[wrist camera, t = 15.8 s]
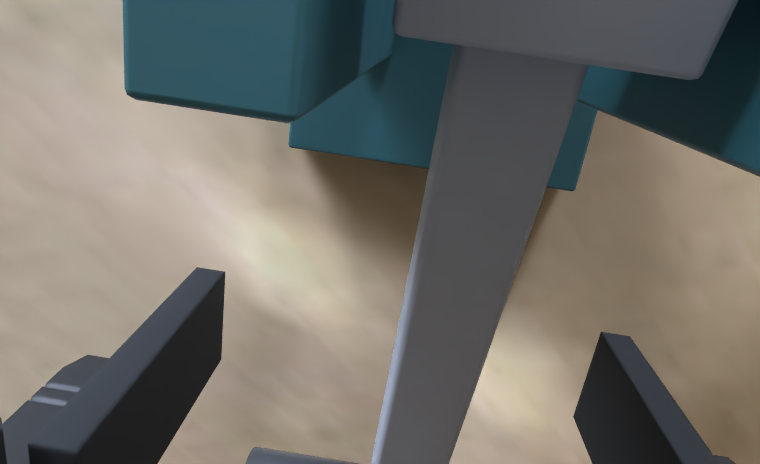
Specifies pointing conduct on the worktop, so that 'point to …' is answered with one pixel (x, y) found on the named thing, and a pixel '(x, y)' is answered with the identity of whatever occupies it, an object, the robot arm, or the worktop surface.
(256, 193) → the worktop surface
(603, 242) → the worktop surface
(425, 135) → the teal lever stand
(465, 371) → the lever
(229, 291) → the worktop surface
